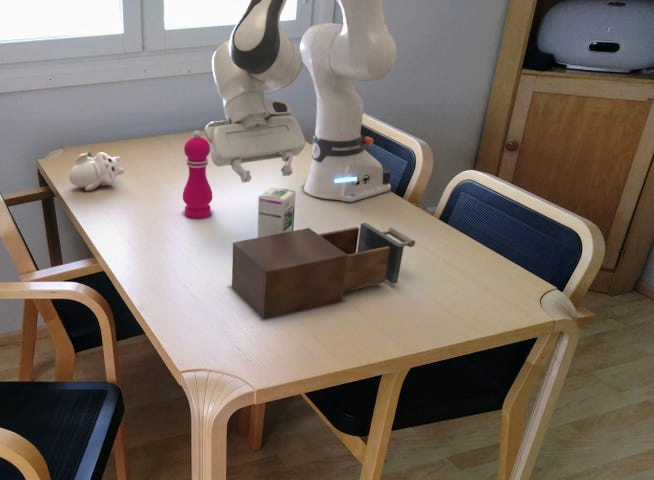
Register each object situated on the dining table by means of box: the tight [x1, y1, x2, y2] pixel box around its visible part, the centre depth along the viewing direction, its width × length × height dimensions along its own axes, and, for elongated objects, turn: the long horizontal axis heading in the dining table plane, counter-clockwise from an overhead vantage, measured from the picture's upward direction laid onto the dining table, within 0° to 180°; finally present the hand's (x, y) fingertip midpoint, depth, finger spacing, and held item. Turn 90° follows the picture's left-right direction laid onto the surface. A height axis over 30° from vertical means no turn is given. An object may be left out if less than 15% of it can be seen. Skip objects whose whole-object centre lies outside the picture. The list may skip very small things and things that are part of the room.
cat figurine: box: [68, 151, 125, 192], centre depth 182 cm, size 10×8×15 cm
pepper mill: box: [182, 130, 213, 219], centre depth 160 cm, size 7×7×20 cm
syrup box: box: [257, 186, 296, 238], centre depth 140 cm, size 6×6×14 cm
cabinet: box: [231, 227, 348, 320], centre depth 128 cm, size 17×14×10 cm
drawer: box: [317, 222, 416, 293], centre depth 133 cm, size 20×12×8 cm, turn 111°
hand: (267, 177), depth 138 cm, fingers open, 8 cm apart
